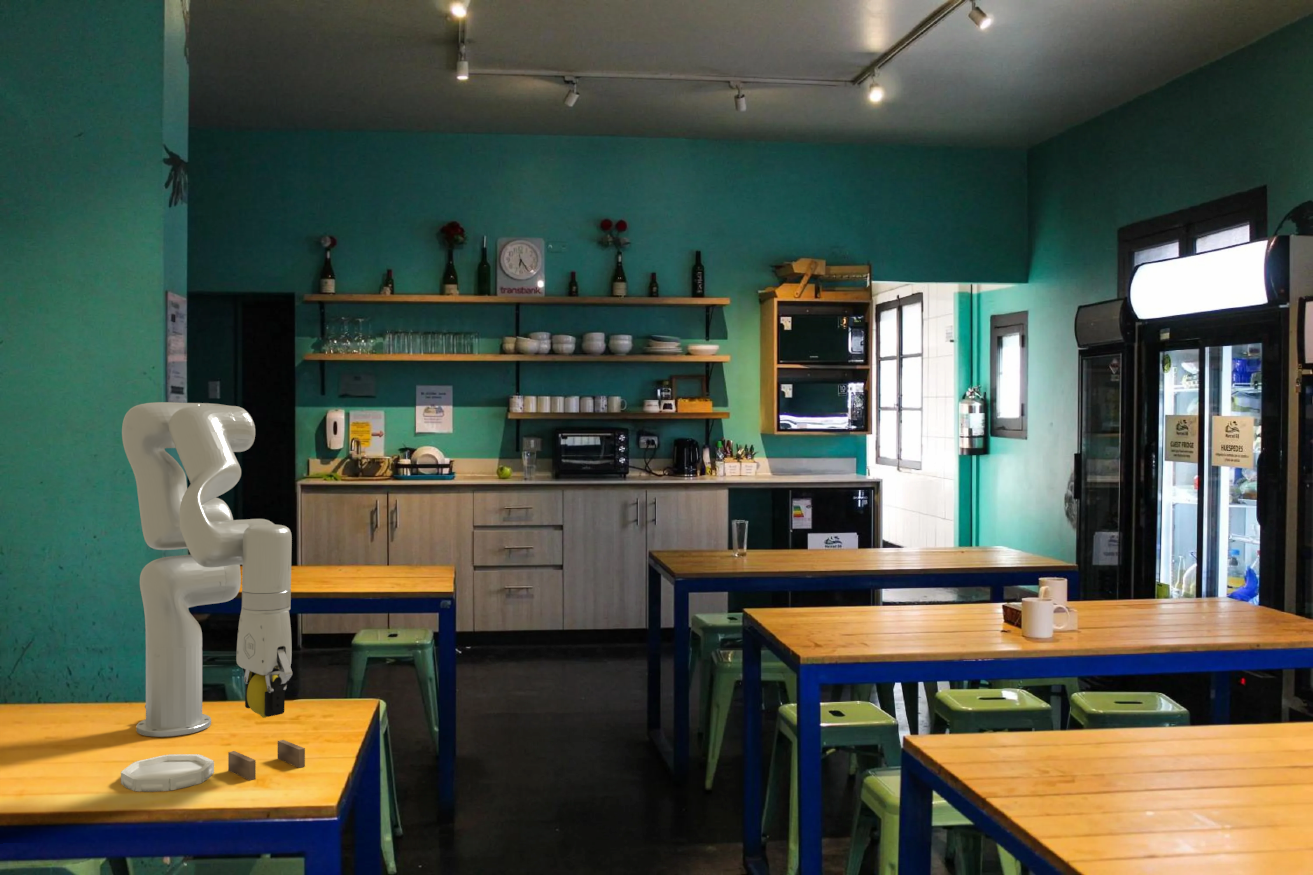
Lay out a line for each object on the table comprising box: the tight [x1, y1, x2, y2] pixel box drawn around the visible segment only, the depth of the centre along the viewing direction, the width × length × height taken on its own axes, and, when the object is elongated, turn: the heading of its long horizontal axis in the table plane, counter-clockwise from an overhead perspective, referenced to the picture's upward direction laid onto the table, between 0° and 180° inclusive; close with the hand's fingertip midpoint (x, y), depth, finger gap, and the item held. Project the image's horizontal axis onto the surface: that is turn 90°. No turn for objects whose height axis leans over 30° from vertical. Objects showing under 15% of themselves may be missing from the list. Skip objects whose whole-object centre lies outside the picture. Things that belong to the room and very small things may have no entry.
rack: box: [227, 739, 306, 781], centre depth 179 cm, size 7×10×3 cm
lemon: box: [247, 674, 278, 719], centre depth 180 cm, size 6×6×8 cm
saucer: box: [120, 753, 215, 793], centre depth 174 cm, size 13×13×2 cm
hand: (264, 709), depth 180 cm, fingers closed on lemon, 5 cm apart
